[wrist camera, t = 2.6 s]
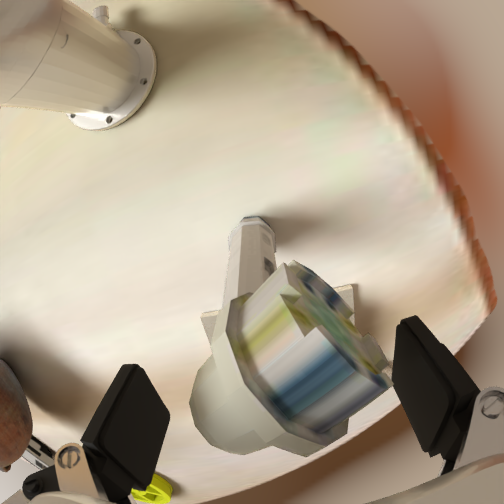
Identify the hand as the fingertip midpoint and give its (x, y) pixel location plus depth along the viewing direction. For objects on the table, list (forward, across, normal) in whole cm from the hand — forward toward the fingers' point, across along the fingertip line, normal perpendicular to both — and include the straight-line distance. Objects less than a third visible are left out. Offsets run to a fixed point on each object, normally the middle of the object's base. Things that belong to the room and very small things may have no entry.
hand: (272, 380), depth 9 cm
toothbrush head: (+22, 0, 0) cm, 22 cm away
